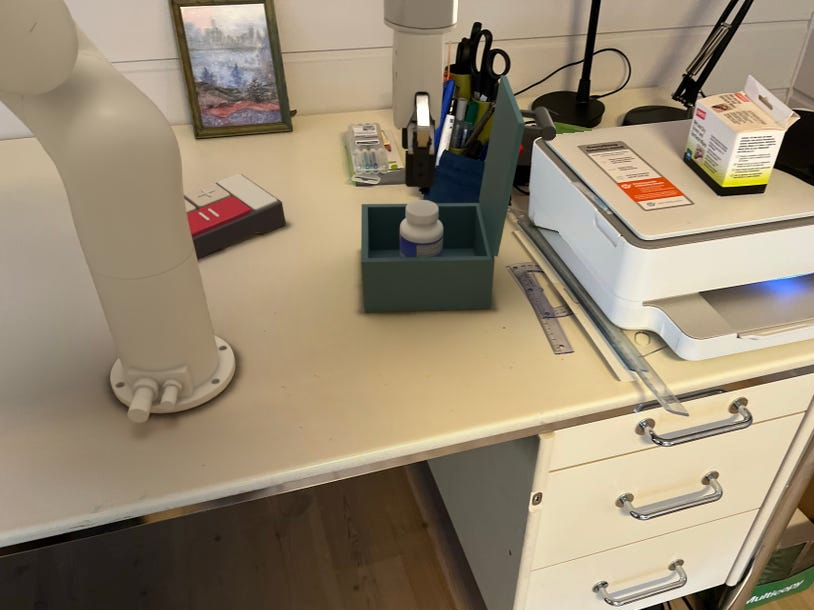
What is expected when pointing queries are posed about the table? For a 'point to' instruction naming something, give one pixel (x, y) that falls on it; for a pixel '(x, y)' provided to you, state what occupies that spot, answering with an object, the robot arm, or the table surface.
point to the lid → (506, 157)
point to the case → (426, 262)
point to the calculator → (230, 213)
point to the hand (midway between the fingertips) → (417, 166)
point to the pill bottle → (421, 230)
